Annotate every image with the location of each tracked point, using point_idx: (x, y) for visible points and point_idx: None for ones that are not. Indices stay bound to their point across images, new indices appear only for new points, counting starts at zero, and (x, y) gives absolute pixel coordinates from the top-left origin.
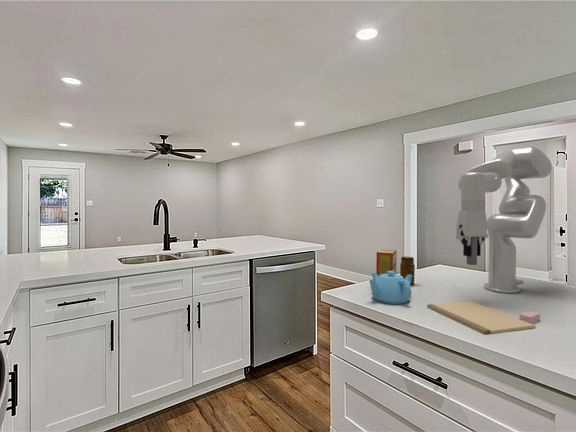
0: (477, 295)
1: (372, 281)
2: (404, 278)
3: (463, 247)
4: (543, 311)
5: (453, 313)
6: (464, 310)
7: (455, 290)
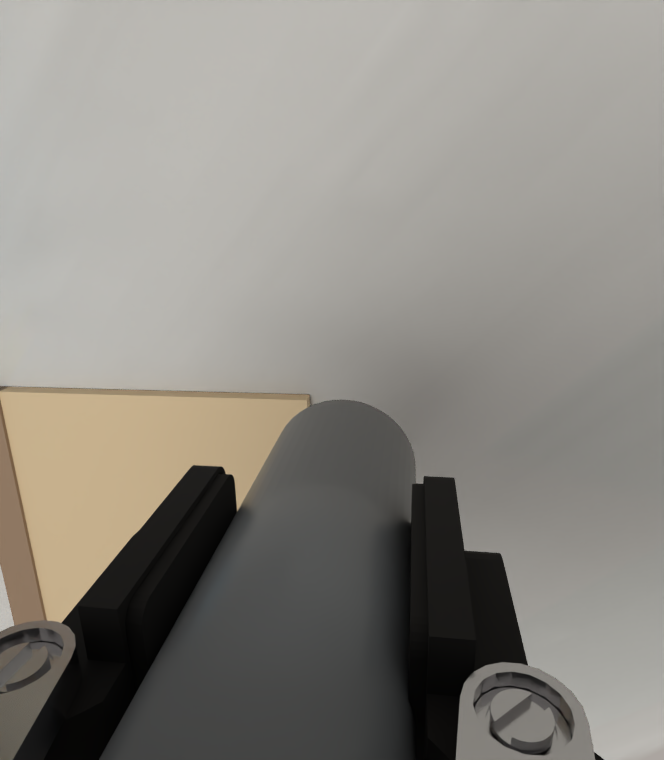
0: (547, 233)
1: None
2: None
3: (118, 557)
4: (629, 644)
5: (39, 551)
6: (131, 533)
7: (490, 13)
